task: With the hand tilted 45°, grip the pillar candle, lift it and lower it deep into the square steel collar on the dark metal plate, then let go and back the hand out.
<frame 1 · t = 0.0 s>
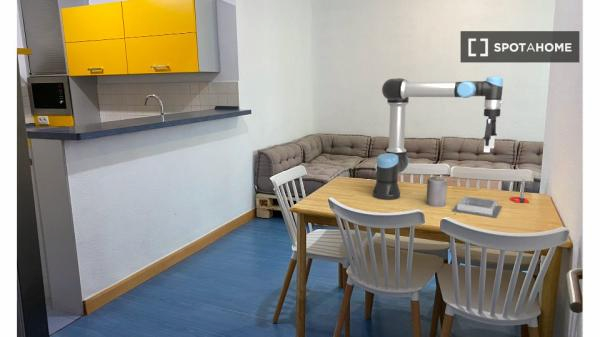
hand: (488, 150, 209), 28 cm above the table, tool pointing down, fingers open, 13 cm apart
square socket: (477, 209, 203), on the table
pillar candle: (435, 204, 213), on the table
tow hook: (518, 201, 217), on the table
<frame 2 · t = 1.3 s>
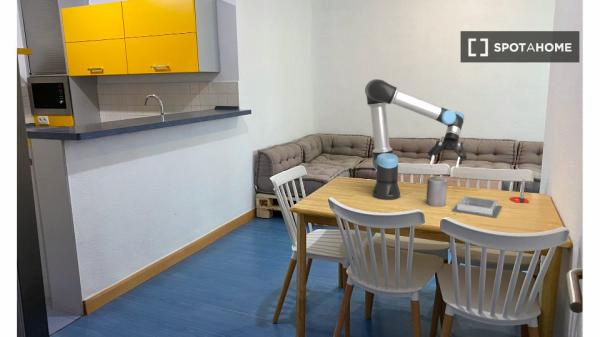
hand: (443, 167, 219), 18 cm above the table, tool tilted 45°, fingers open, 13 cm apart
nothing on the table moved.
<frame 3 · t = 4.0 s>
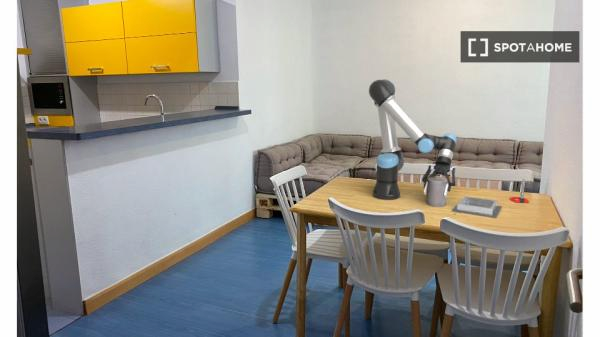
hand: (434, 194, 209), 6 cm above the table, tool tilted 45°, fingers closed on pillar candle, 9 cm apart
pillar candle: (436, 204, 213), on the table, touching gripper
everything else where it was.
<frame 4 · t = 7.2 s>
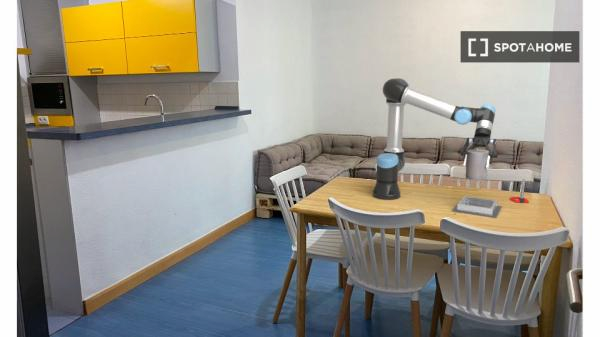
hand: (475, 167, 197), 22 cm above the table, tool tilted 45°, fingers closed on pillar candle, 9 cm apart
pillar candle: (476, 178, 201), point 16 cm above the table, touching gripper
everything else where it was.
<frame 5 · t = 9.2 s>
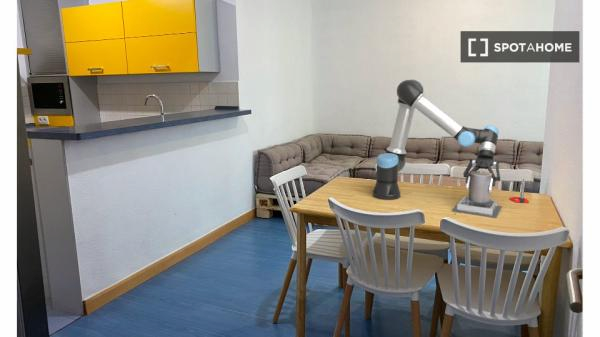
hand: (478, 190, 198), 11 cm above the table, tool tilted 45°, fingers closed on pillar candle, 9 cm apart
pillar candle: (479, 200, 202), point 5 cm above the table, touching gripper
everything else where it was.
when the fingers open (8 cm above the table, at t = 10.8 s): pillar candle drops 1 cm, resting on square socket.
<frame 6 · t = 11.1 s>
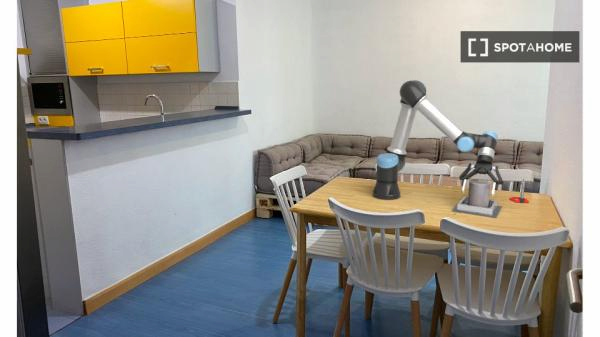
hand: (477, 193, 200), 9 cm above the table, tool tilted 45°, fingers open, 13 cm apart
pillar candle: (477, 208, 203), point 1 cm above the table, touching square socket
everything else where it was.
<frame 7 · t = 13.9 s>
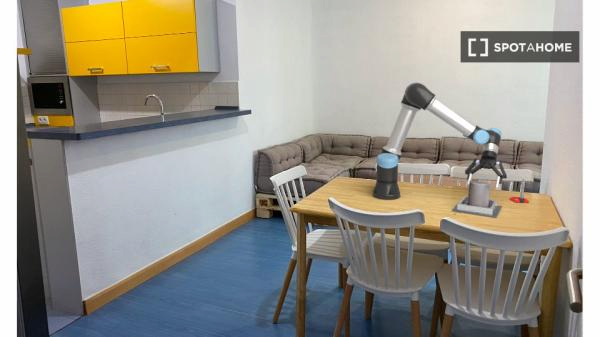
hand: (482, 186, 211), 9 cm above the table, tool tilted 45°, fingers open, 13 cm apart
nothing on the table moved.
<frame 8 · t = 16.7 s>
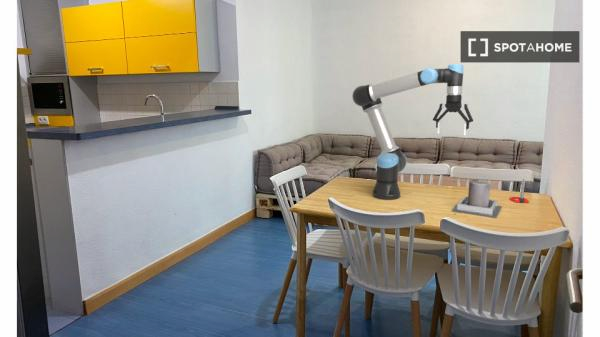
hand: (451, 134, 219), 35 cm above the table, tool pointing down, fingers open, 13 cm apart
nothing on the table moved.
at the end: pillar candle 0.2 cm off-centre on the square socket, point 0.6 cm above the square socket's base; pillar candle tilted 0°; the gripper is holding nothing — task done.
